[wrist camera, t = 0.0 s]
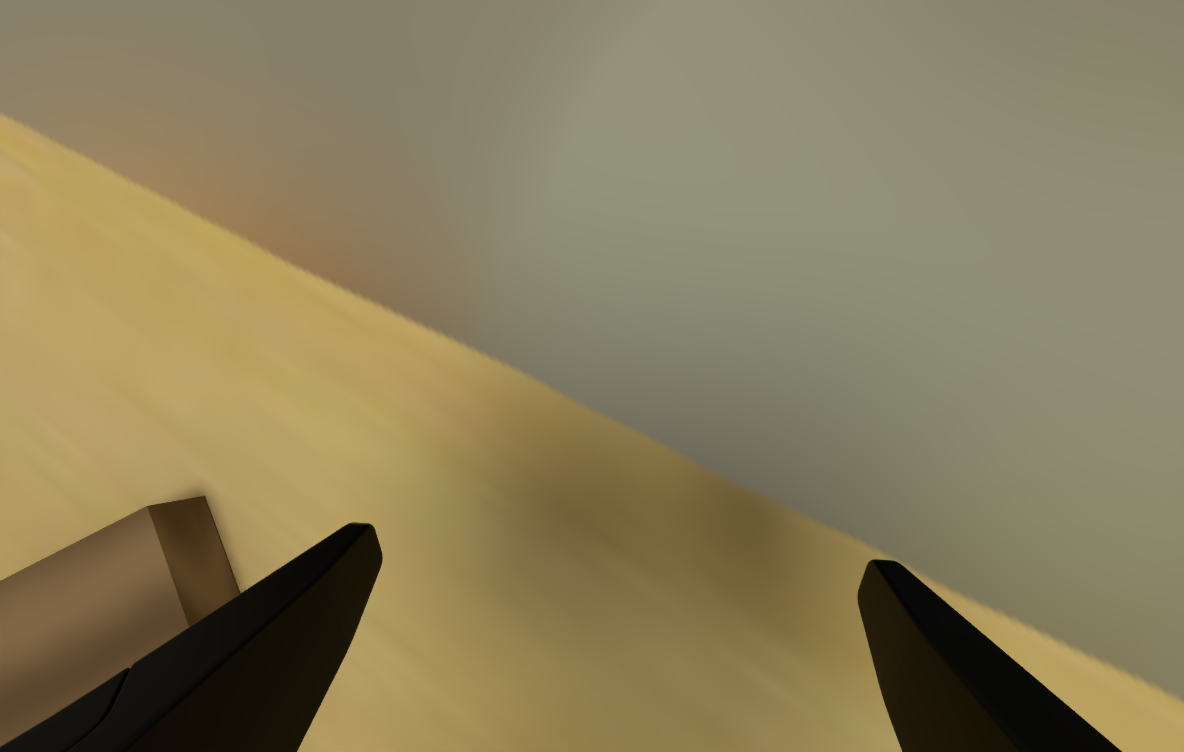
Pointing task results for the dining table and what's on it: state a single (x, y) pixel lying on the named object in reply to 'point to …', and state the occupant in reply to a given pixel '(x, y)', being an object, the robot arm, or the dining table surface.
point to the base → (105, 607)
